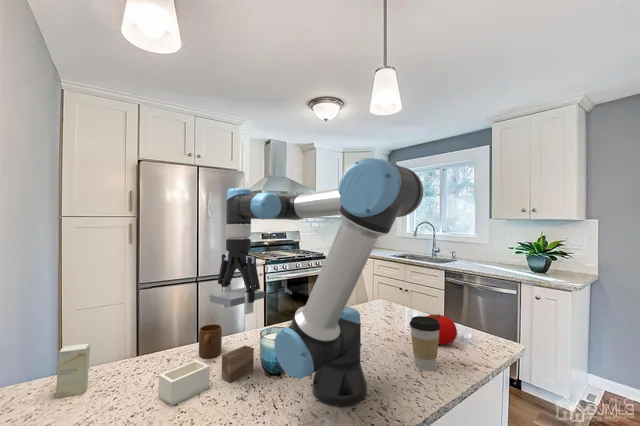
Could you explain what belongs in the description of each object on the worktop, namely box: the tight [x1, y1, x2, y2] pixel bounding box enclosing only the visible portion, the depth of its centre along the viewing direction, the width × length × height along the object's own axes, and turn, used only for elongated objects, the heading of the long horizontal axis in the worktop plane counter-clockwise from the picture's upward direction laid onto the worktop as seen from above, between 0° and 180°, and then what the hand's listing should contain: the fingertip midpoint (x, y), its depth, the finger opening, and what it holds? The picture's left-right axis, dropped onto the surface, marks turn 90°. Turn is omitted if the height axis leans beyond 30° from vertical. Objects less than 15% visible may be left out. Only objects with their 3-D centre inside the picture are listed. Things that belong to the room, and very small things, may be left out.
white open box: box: [157, 359, 211, 407], centre depth 83 cm, size 6×11×6 cm, turn 144°
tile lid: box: [209, 287, 266, 308], centre depth 93 cm, size 10×13×2 cm
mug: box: [198, 324, 223, 359], centre depth 105 cm, size 12×8×9 cm, turn 9°
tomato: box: [425, 313, 458, 346], centre depth 120 cm, size 14×13×10 cm
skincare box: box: [55, 342, 91, 399], centre depth 83 cm, size 6×4×12 cm
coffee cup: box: [409, 315, 441, 372], centre depth 99 cm, size 10×10×15 cm
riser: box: [220, 345, 255, 384], centre depth 93 cm, size 4×9×7 cm, turn 144°
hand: (237, 310), depth 93 cm, fingers closed on tile lid, 10 cm apart
